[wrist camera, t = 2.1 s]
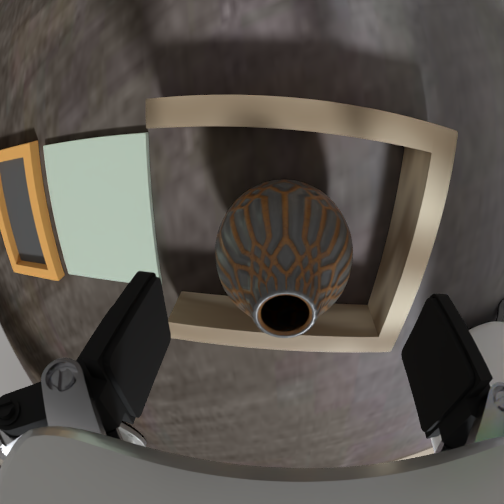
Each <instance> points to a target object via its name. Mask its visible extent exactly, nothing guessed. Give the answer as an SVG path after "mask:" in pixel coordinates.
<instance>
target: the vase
mask: <svg viewBox="0 0 504 504" xmlns="http://www.w3.org/2000/svg"><path fill="white" fill-rule="evenodd" d="M215 258H216V266H217V271H218V275H219V278H220V281H221V284H222V286H223V288H224V290H225V292H226V293H227V295H228V297H229V298H230V299H231V300H232V302H233V303H234V304H235V305H236V306H237V307H238V308H239V309H240V310H242V311H243V312H244V313H246V314H247V315H248V316H250V317H251V318H252V319H253V321H254V323H255V324H256V326H257V327H258V328H259V329H260V330H261V331H263V332H264V333H266V334H268V335H270V336H273V337H277V338H292V337H296V336H299V335H301V334H303V333H305V332H307V331H308V330H309V329H310V328H311V327H312V326H313V325H314V324H315V322H316V320H317V318H318V317H319V316H320V315H321V314H323V313H324V312H325V311H327V310H328V309H329V308H330V307H331V306H332V305H333V304H334V303H335V302H336V301H337V299H338V298H339V297H340V295H341V294H342V292H343V290H344V288H345V286H346V284H347V282H348V279H349V276H350V272H351V267H352V260H353V246H352V239H351V234H350V231H349V228H348V225H347V223H346V220H345V218H344V217H343V215H342V213H341V212H340V210H339V209H338V207H337V206H336V205H335V203H334V202H333V201H332V200H331V199H330V198H329V197H328V196H327V195H326V194H324V193H323V192H322V191H320V190H319V189H317V188H315V187H313V186H311V185H309V184H306V183H303V182H300V181H296V180H287V179H280V180H272V181H268V182H264V183H261V184H259V185H257V186H254V187H253V188H251V189H249V190H247V191H246V192H245V193H243V194H242V195H241V196H240V197H239V198H238V199H237V200H236V201H235V202H234V203H233V204H232V206H231V207H230V208H229V210H228V211H227V213H226V215H225V216H224V218H223V220H222V222H221V225H220V228H219V231H218V234H217V238H216V246H215Z"/></svg>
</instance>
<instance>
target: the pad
mask: <svg viewBox="0 0 504 504" xmlns="http://www.w3.org/2000/svg"><path fill="white" fill-rule="evenodd" d="M43 149H44V158H45V166H46V174H47V181H48V187H49V193H50V199H51V204H52V209H53V214H54V219H55V224H56V228H57V232H58V237H59V241H60V245H61V249H62V252H63V256H64V260H65V263H66V267H67V270H68V273H69V274H73V275H79V276H86V277H92V278H99V279H106V280H113V281H120V282H128V283H129V282H130V281H131V280H132V278H133V277H134V276H135V274H136V273H137V272H138V271H145V272H154V273H155V274H156V277H159V278H160V279H161V272H160V265H159V258H158V250H157V242H156V234H155V225H154V215H153V204H152V192H151V179H150V162H149V139H148V132H145V133H132V134H121V135H111V136H102V137H94V138H86V139H79V140H73V141H66V142H60V143H55V144H49V145H45V146H43ZM161 284H162V279H161Z"/></svg>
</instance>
